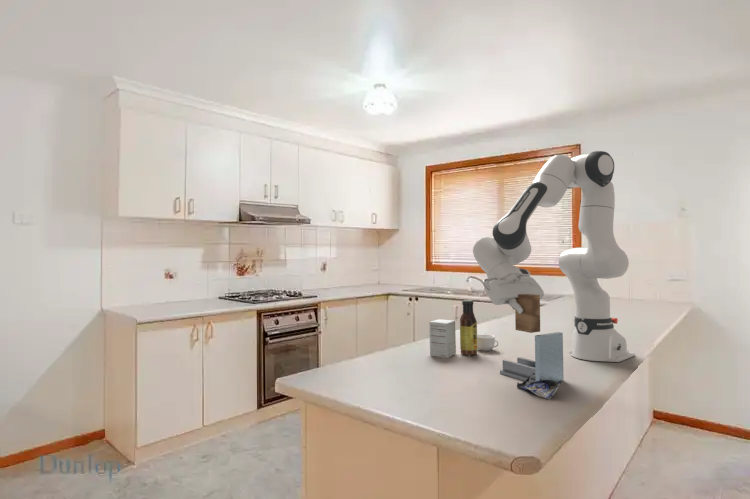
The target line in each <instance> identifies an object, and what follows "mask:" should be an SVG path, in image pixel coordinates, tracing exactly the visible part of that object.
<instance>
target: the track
mask: <svg viewBox="0 0 750 499" xmlns="http://www.w3.org/2000/svg"><path fill="white" fill-rule="evenodd" d="M534 358H535V359H534V360H532V359H528V358H525V357H521V356H519V357H517V358H516V361H517V362H515V361H512V360H507V359H502V369H500V370H499V374H500V375H503V376H505V377H509V378H514V379H516V380H520V381H522V382H523V381H526V380H527V379H528V378H529V376H531V374H533V373H535V375H534V376H533V377H532V379H531V381H530V383H532V382H535V381H542V380H553V381H554V382H559V381H560V380H561V382H563V381H564V379H565V378H564V336H563V332H560V331H556V332H550V333H543V334H542V333H541V334H536V335H534ZM543 376H544V377H543ZM550 377H551V378H550ZM530 383H529V384H530Z"/></svg>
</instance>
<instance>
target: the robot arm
mask: <svg viewBox="0 0 750 499" xmlns="http://www.w3.org/2000/svg"><path fill="white" fill-rule="evenodd" d="M614 173H615V161H614V158H613V157H612V156H611V155H610V153H608V151H607V152H606V151H603V150H596V151H592V152H587V153H582V154H579V155H577V156H573V157H571V158H570V157H569V156H567V155H564V154H556V155H554V156H551V157H550V158H549V159H548V160H547V161H546V162H545V163H544V165H543V166H542V167H541V169H540V170H539V171H538V172H537V174H536V176H535V178H534V180H533V181H532V183H531V184H529V185H528V186H527V187H526V188H525V190H524V191H523V192H522V193H521V194H520V196H519V197H518V199H517V200H516V201H515V203H514V204H513V206H512V207H511V208H510V210H509V211H508V212H507V213H506V214H504V216H503V217H501V218H499V219H498V220H497V221H496V223H495V224H494V226H493V228H492V236H482V237H480V238H479V239H478V240H477V241H476V242H475V243H474V246H473V248H472V254H473V257H474V259H475V261H476V262H477V264H478V265H479V267H480V269H481V270H482V271H483V272H484V273H485V274H486V276H487V278H484V279H483V280H482V285H483V286H484V289H485V292H486V294H487V296H488V298H489V299H490V300H489V301H491V302H492V304H494V305H495V306H499V305H509V306H510V307H511V308H512V309H514V311H515V310H517V312H518V313H519V314H521V313H524V312H525V308H524V307H523V306H520V305H519V304H518V303H517V300H516V298H518V297H519V296H518V294H535V295H540V300H541V299H543V297H544V295H545V292H544V291H545V290H544V289H543V288H542V287H541V285H540V284H539V283H538V282H537V281H536V280H535V278H534V277H532V276H531V272H530V271H529V270H528V269H525V268H521V267H518V266H516V265H518V264H519V263H522V262H524V261H525V260H527V259H528V258H529V257H530V256H531V255H530V254H531V252H532V245H531V242H530V239H529V237H528V236H529V235H528V234H527V224H528V220H530V218H531V216H533V214H534V212H535V211H536V209H537V208H538V207H541V208H552V207H555V206H557V205H558V204H559V203H560V201H561V200H562V199H563V197H564V196H565V194H566V192H567V190H568V189H569V190H570V189H575V188H580V189H581V193H582V195H581V200H580V206H579V218H578V228H577V229H578V230H579V232H580V233H581V234H582V235H584V236H585V237H586V239H587V246H585V247H584V246H583V247H572V248H568V249H565V250H564V251H562V252H561V254H560V255H559V258H558V267H559V269H560V271H561V272H562V273H563V274H564V275H565V276H566V277H567V279H568V281H569V282H570V285H571V287H572V290H573V291H572V292H573V293H574V304H575V316H574V320H573V322H574V326H575V329H573V332H572V339H571V340H572V341H571V343H572V344H571V348H570V349H569V353H570V354H571V356H572V357H573V358H576V359H580V360H585V361H591V362H610V363H611V362H612V363H620V362H622V361H625V360H628V359H630V358H633V357H635V352H634V351H630V350H628V348H627V340H626V338H625V337H624V336H623V335H622V334H621V333H620V332H618V331H617V330H616V329H615V328H614V327H615V325H614V324H618V322H619V319H618V318H617V317H611V298H610V294H609V293H608V292H607V291H606V290H604V289H603V288H602V287H601V285H600V283H599V281H598V279H606V280H610V279H615V278H619V277H622V276H624V275H625V274H626V273H627V271H628V269H629V266H630V265H629V264H630V263H629V258H628V257H629V256H628V255H627V253H626V252H625V251H624V250H623V249H622V248H621V247H620V246H619V244H618V243H617V241H616V238H615V235H614V220H615V219H614V218H615V217H614V216H615V208H616V207H615V205H616V204H615V202H616V196H615V187H614V184H613V182H612V180H613V176H614Z"/></svg>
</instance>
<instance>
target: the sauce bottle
mask: <svg viewBox="0 0 750 499" xmlns="http://www.w3.org/2000/svg"><path fill="white" fill-rule="evenodd" d="M461 304H462V314H461V315H460V318H459V342H460V343H459V344H460V346H459V348H460V349H459V350H460V354H462V355H464V356H475V355H477V354H478V349H477V334H478V322H477V319H476V316H475V313H474V300H470V299H469V300H468V299H467V300H466V299H465V300H462V302H461Z"/></svg>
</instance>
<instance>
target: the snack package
mask: <svg viewBox="0 0 750 499" xmlns="http://www.w3.org/2000/svg"><path fill="white" fill-rule="evenodd" d="M534 375H535V373H533V374H531V376H529V378H528V379H527V380H526V381H522V382H516V388H519V389H522V390H526V391H529V392H531V393H533V394H534V395H536V396H538V397H540V396H541V395H540V394H539V392H540V393H542V394H543V397H542V396H541V397H540V398H542V399H547V400H551V399H552V398H553V396H554V395H555V393H556V392H557V391H558V388H559V387H560V385H561V384H562V381H561V380H560V381H559V382H554V381H553V380H542V381H535V382H532V383H530V381H531V379H532V377H533V376H534ZM543 377H544V376H543ZM550 378H551V377H550ZM539 395H540V396H539ZM544 396H545V397H544Z"/></svg>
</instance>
